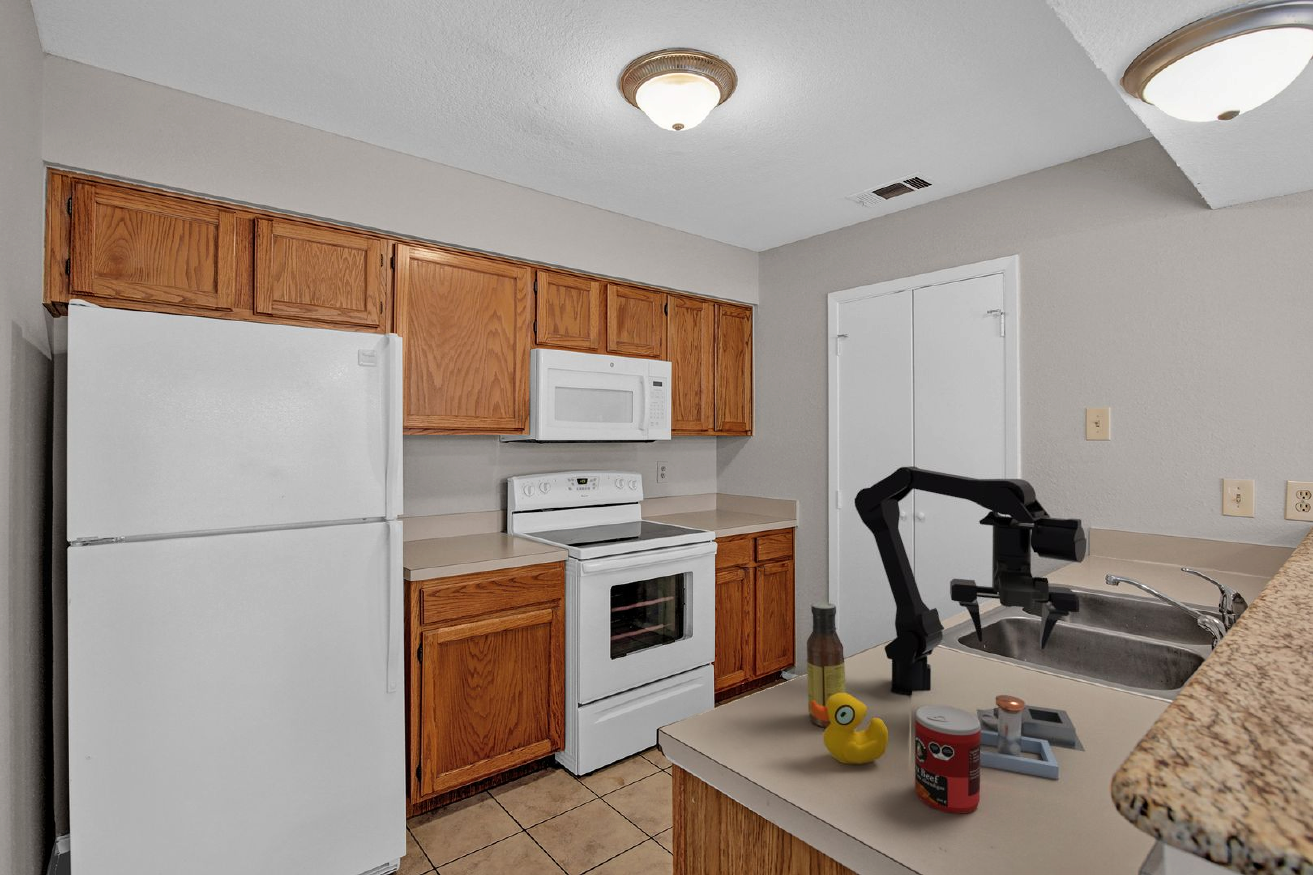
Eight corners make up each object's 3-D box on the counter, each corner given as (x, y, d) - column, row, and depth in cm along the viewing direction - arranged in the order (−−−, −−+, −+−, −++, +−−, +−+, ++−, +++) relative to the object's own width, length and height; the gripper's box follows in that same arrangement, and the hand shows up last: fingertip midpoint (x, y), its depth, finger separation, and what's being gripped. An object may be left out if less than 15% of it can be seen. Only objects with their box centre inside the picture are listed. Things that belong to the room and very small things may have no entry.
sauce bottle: (848, 717, 110) (849, 602, 110) (843, 733, 104) (843, 611, 104) (810, 710, 113) (810, 598, 112) (802, 725, 107) (803, 607, 107)
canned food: (904, 783, 89) (905, 705, 89) (959, 780, 90) (959, 703, 90) (932, 816, 82) (933, 731, 82) (992, 813, 82) (993, 728, 82)
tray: (969, 768, 93) (969, 751, 93) (965, 742, 101) (965, 727, 101) (1058, 784, 89) (1058, 766, 89) (1047, 756, 97) (1047, 740, 97)
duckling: (812, 768, 93) (812, 700, 93) (807, 750, 99) (807, 686, 99) (892, 772, 92) (892, 703, 92) (882, 753, 98) (883, 688, 98)
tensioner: (982, 739, 102) (982, 718, 102) (976, 713, 112) (976, 694, 111) (1085, 756, 97) (1085, 734, 97) (1070, 727, 106) (1070, 707, 106)
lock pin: (996, 762, 94) (997, 703, 94) (993, 750, 98) (994, 693, 97) (1025, 767, 93) (1026, 707, 92) (1021, 755, 96) (1022, 697, 96)
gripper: (953, 558, 104) (952, 653, 105) (1088, 567, 97) (1087, 669, 98) (950, 546, 115) (949, 633, 115) (1071, 554, 108) (1070, 646, 108)
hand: (1010, 644), depth 109 cm, fingers open, 9 cm apart
